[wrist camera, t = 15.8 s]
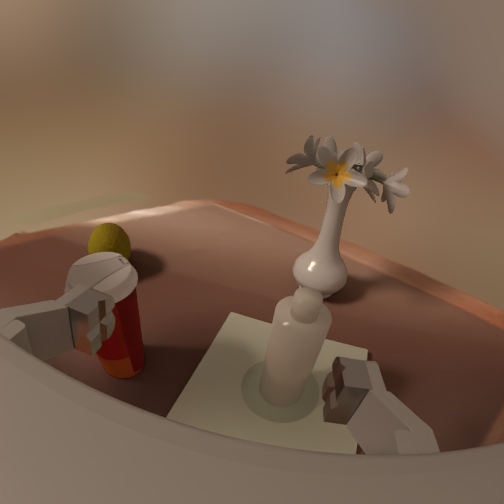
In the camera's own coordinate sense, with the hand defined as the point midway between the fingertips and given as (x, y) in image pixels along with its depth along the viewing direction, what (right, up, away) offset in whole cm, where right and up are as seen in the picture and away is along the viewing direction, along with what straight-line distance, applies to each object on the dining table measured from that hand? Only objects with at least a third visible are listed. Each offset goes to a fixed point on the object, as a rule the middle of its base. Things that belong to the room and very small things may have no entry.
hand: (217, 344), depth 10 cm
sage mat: (+4, -13, +22) cm, 26 cm away
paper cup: (-15, -11, +23) cm, 29 cm away
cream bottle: (+4, -12, +21) cm, 25 cm away
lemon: (-24, +1, +40) cm, 46 cm away
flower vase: (+13, -3, +41) cm, 43 cm away
